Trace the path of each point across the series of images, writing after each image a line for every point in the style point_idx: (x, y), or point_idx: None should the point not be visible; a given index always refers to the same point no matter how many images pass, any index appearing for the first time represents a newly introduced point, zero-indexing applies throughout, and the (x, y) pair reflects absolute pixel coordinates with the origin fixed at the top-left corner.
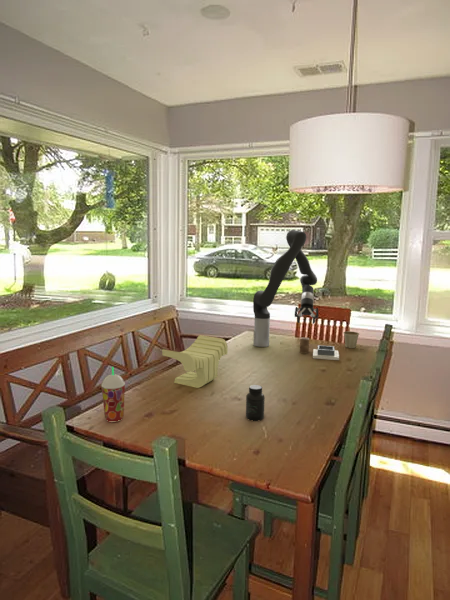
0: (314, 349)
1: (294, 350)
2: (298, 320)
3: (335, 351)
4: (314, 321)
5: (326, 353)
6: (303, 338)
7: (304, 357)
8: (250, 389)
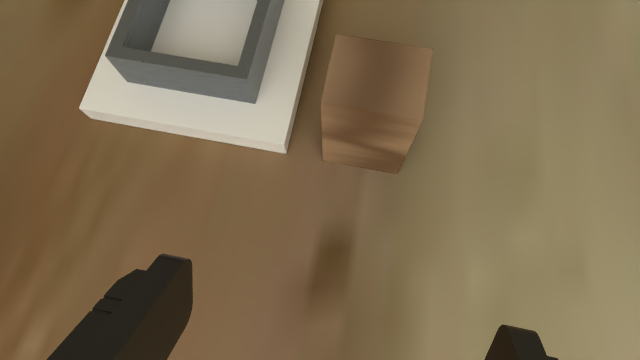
0: (277, 127)
1: (447, 174)
2: (535, 342)
3: (112, 82)
4: (138, 275)
5: None
6: (394, 71)
7: (383, 3)
8: None
